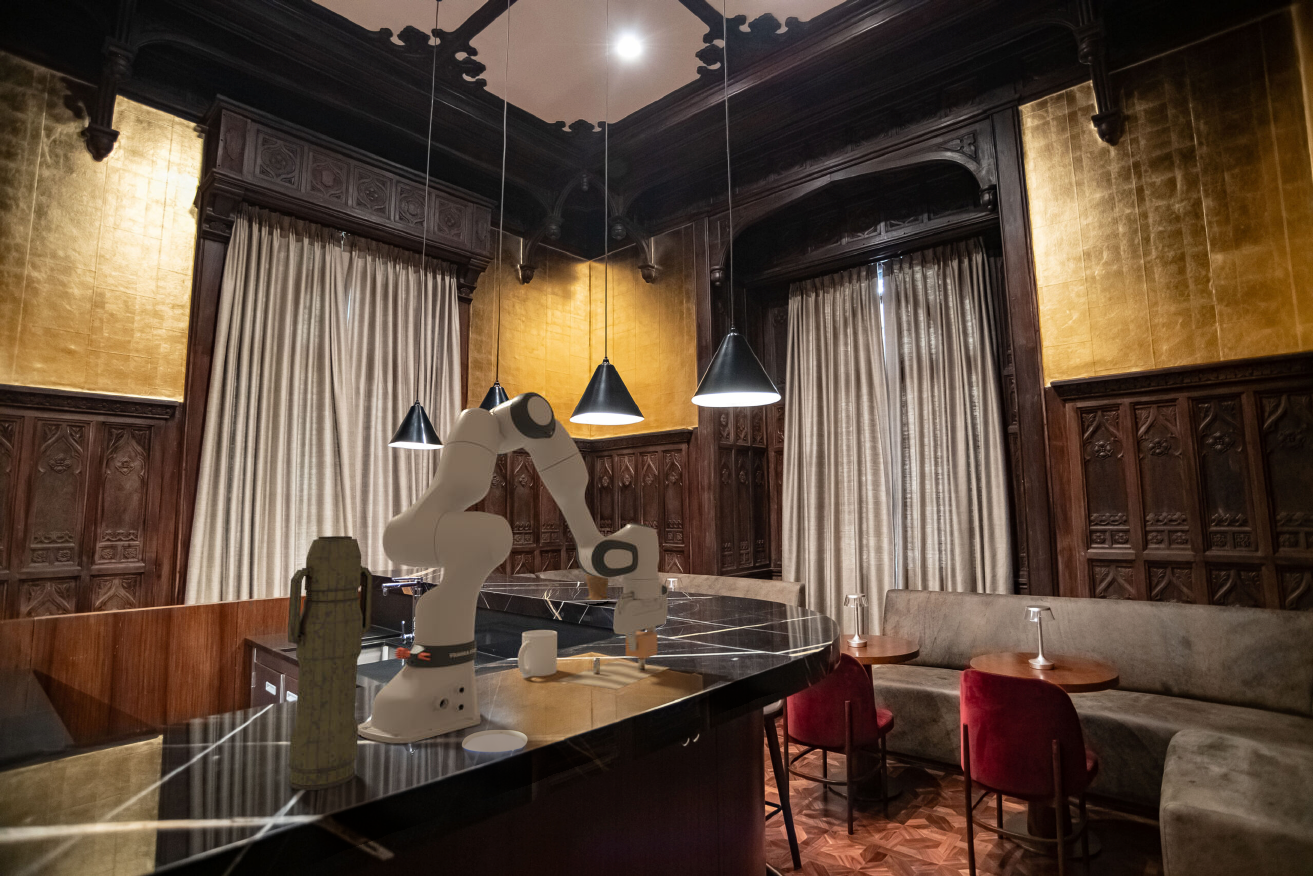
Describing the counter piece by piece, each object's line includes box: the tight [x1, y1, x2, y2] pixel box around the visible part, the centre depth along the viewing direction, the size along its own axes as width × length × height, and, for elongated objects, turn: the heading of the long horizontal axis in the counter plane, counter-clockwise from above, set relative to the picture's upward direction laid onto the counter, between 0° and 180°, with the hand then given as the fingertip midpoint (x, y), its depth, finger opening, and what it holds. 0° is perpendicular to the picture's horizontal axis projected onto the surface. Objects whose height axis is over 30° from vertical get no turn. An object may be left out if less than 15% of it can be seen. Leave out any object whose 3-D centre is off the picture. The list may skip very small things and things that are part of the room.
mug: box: [517, 629, 558, 679], centre depth 160 cm, size 12×8×10 cm
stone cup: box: [584, 573, 611, 600], centre depth 299 cm, size 15×12×15 cm
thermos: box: [287, 535, 374, 791], centre depth 101 cm, size 9×12×35 cm
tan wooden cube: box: [625, 630, 658, 659], centre depth 165 cm, size 6×6×5 cm
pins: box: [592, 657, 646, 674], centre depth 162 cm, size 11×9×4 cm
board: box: [556, 660, 670, 691], centre depth 159 cm, size 24×16×1 cm, turn 150°
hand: (641, 647), depth 165 cm, fingers closed on tan wooden cube, 6 cm apart
